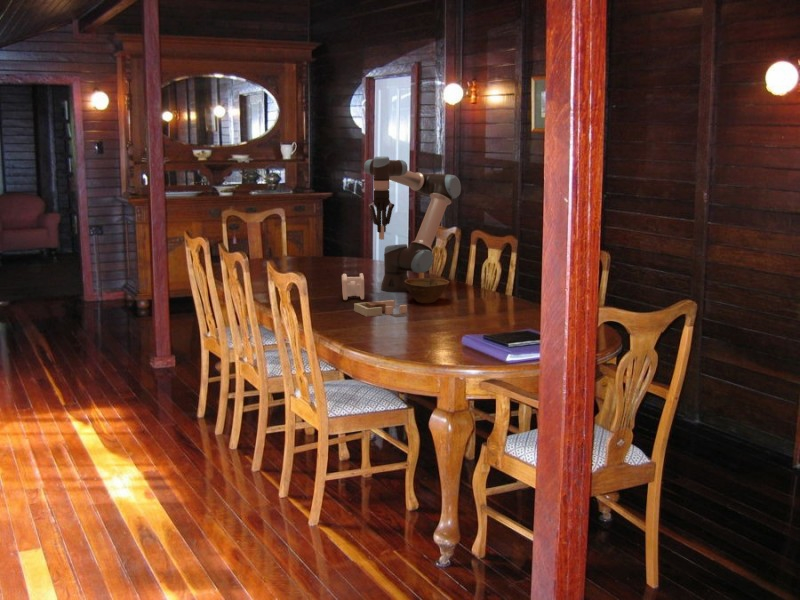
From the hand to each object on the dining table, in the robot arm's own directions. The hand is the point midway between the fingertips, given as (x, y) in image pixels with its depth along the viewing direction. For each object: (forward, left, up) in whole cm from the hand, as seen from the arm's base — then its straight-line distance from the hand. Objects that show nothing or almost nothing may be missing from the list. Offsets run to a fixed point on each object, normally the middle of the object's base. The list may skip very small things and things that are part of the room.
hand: (381, 239), depth 441 cm
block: (+15, +27, -30) cm, 43 cm away
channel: (+8, +27, -29) cm, 41 cm away
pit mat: (+8, +38, -29) cm, 48 cm away
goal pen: (+19, +27, -29) cm, 44 cm away
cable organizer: (+11, -9, -30) cm, 33 cm away
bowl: (-18, +14, -30) cm, 37 cm away
